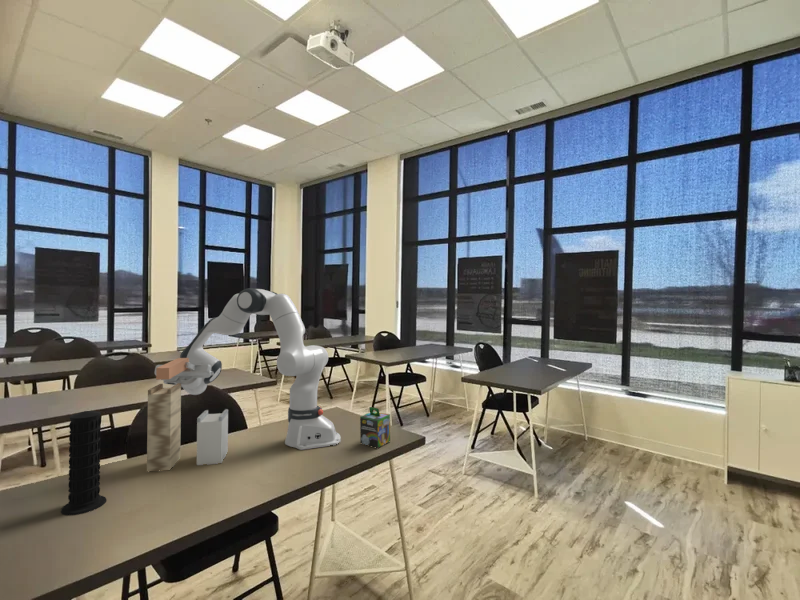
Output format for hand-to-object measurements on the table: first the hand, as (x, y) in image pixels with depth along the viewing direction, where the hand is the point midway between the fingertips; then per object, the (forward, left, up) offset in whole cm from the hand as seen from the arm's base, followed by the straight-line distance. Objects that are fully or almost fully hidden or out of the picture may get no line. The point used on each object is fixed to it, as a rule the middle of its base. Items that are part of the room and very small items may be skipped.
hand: (179, 364), depth 151 cm
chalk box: (-76, +8, -33) cm, 84 cm away
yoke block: (-16, +13, -33) cm, 39 cm away
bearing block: (-1, +16, -33) cm, 36 cm away
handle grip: (+11, +41, -33) cm, 54 cm away
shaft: (0, +6, -3) cm, 6 cm away
